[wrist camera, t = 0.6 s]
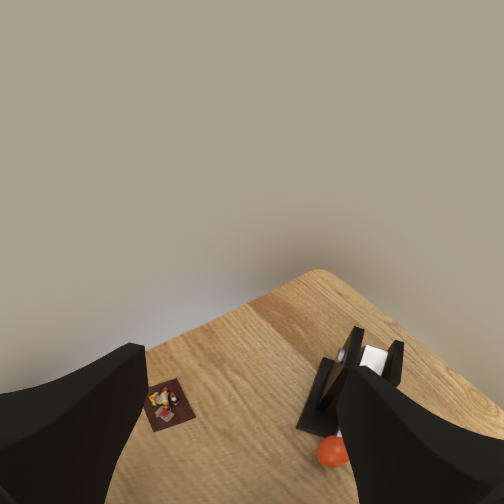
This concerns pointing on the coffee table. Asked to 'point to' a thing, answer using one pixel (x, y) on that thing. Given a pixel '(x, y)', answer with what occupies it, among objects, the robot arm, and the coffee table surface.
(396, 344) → the bracket
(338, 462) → the lever
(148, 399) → the diorama
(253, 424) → the coffee table surface
